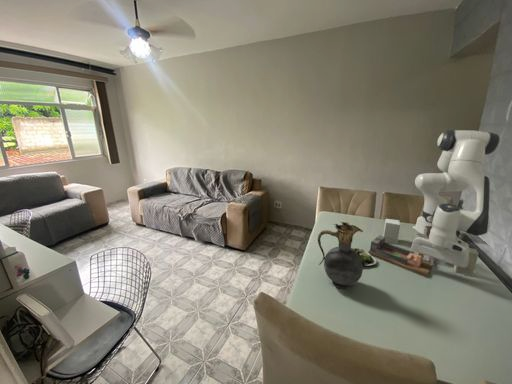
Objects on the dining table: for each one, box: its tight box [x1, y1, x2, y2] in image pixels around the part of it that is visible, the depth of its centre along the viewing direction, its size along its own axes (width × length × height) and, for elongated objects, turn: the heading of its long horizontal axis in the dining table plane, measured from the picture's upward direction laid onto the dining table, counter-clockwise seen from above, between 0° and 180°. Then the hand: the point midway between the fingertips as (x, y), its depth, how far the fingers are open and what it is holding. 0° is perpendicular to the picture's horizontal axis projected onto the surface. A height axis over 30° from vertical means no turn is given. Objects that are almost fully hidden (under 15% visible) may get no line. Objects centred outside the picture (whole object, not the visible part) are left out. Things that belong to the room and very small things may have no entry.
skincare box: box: [453, 247, 479, 277], centre depth 100 cm, size 6×4×12 cm
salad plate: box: [351, 247, 377, 269], centre depth 115 cm, size 19×18×5 cm
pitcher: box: [317, 221, 364, 289], centre depth 93 cm, size 11×19×30 cm, turn 65°
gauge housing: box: [367, 234, 434, 278], centre depth 111 cm, size 13×26×8 cm, turn 39°
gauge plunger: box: [406, 253, 425, 267], centre depth 106 cm, size 8×6×5 cm
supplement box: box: [382, 218, 401, 245], centre depth 130 cm, size 7×7×13 cm
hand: (435, 266), depth 100 cm, fingers closed
